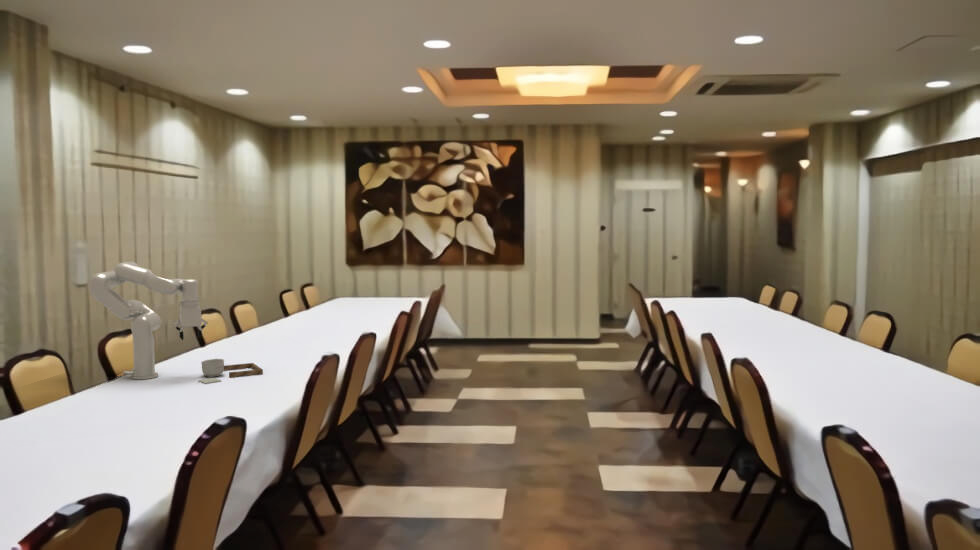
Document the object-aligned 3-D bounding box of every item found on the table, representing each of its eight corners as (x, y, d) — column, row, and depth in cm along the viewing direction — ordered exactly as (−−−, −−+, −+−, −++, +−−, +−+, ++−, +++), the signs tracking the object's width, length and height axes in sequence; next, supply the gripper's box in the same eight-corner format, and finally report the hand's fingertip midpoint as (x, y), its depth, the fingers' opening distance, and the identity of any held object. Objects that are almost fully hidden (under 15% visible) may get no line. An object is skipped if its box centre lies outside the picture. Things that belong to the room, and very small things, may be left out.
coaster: (205, 385, 343) (205, 382, 343) (197, 382, 349) (197, 380, 348) (221, 382, 349) (221, 380, 349) (213, 380, 354) (213, 377, 354)
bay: (229, 377, 358) (229, 372, 358) (221, 370, 375) (221, 365, 374) (262, 374, 367) (262, 369, 366) (252, 367, 383) (252, 362, 383)
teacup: (219, 378, 356) (218, 362, 356) (197, 378, 356) (197, 362, 356) (229, 372, 370) (229, 357, 369) (209, 372, 370) (209, 357, 370)
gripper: (172, 305, 347) (173, 341, 348) (210, 303, 356) (210, 338, 357) (170, 304, 353) (170, 339, 354) (206, 302, 362) (207, 336, 364)
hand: (190, 338), depth 356 cm, fingers open, 7 cm apart
